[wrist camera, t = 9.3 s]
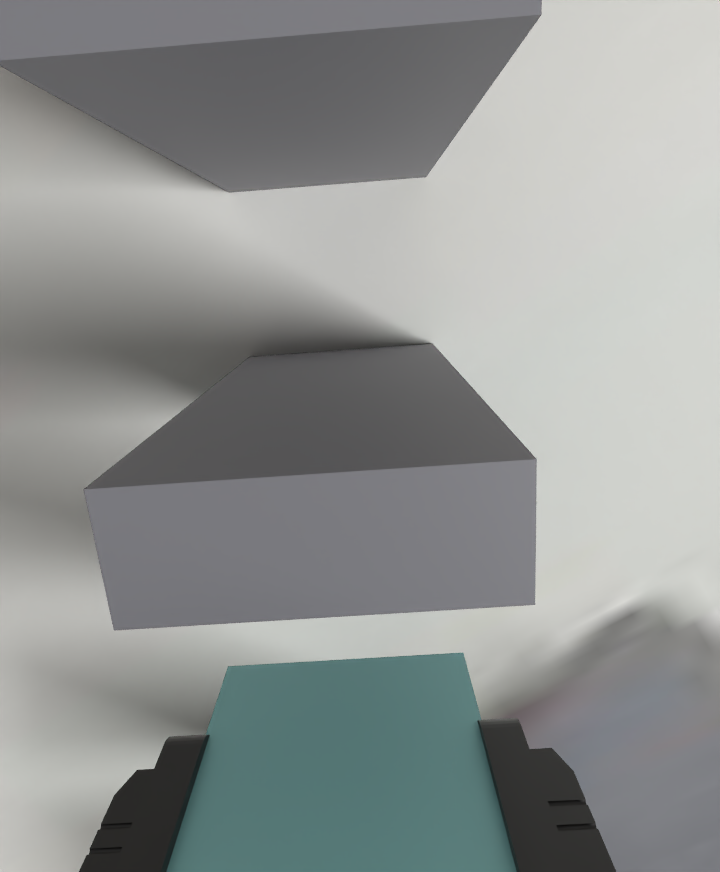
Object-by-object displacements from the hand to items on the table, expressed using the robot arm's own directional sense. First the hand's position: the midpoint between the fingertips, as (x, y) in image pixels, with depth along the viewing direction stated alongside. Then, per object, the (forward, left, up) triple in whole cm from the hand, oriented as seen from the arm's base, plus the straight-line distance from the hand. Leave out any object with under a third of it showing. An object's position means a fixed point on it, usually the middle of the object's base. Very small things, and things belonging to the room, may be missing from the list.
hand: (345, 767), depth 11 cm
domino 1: (+6, -10, -7) cm, 14 cm away
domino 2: (+3, -5, -7) cm, 9 cm away
